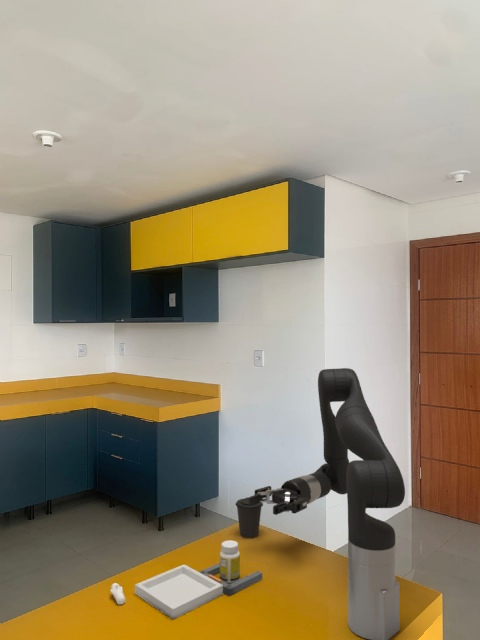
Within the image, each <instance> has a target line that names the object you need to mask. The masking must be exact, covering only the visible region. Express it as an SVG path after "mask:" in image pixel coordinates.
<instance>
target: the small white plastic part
mask: <svg viewBox="0 0 480 640" xmlns="http://www.w3.org/2000/svg"><path fill="white" fill-rule="evenodd" d="M110 593H111V594H112V596H113V597H114V600H115V602H116V604H117V605H121V606H122V605H123V604H124V603H125V602H126V596H125V594H124V591H123V587H122V586H120V584H119V583H117V582H114V583H112V584H111V585H110Z"/></svg>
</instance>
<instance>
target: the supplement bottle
mask: <svg viewBox="0 0 480 640" xmlns="http://www.w3.org/2000/svg"><path fill="white" fill-rule="evenodd" d="M219 563H220V573H219V579H220V580H222V581H223V582H225V583H227V584H232V583H234V582H236V581H238V580H240V579H241V567H240V566H241V554H240V551H239V543H238V542H237V541H235V540H230V539H229V540H223V542H222V543H221V551H220V553H219Z"/></svg>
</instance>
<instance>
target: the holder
mask: <svg viewBox="0 0 480 640" xmlns="http://www.w3.org/2000/svg"><path fill="white" fill-rule="evenodd" d="M198 572H199V573H201V574H203V575H205V576H207V577H209V578H211V579H212V580H214V581H216V582H218V583H220V584H222V585H223V595H226V596H228V597H231V596H233V595H235V594H236V593H238V592H240V591H242V590H244V589H247V588H248V587H250V586H251V585H254V584H256V583H258V582H259V581H260V582H261V580H263V572H261V571H260V570H257V571H255V572H253V573H250V574H249V575H246V576H244V577H242V578H240V579H239V580H238V581H236V582H234V583H225V582H223V581H222V580H221V579H220V578H218V577H216V575H218V574H220V562H218V563H215V564H213V565H211V566H209V567H207V568H204V569H203V570H200V571H198Z"/></svg>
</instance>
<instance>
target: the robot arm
mask: <svg viewBox="0 0 480 640" xmlns="http://www.w3.org/2000/svg"><path fill="white" fill-rule="evenodd" d="M358 377H359V376H358V375H357V372H355V370H354V369H352V368H349V367H348V368H347V367H344V368H341V367H340V368H325V369H321V370H320V371H319V373H318V377H317V391H318V401H319V410H320V411H319V412H320V419H321V425H322V432H323V434H322V435H323V460H324V461H325V462H324V463H323V464H322V465H321V466H320V467H319V468H317V469H316V470H315V471H314V472H312V473H310V474H306V475H300V476H298V477H295V478H292V479H288V480H286V481H285V482H283V484H282V485H281V487H280V488H275V489H272V485H271V486H270V485H268V486H264V487H261V488H257V489H254V495H251V496H249V505H251V506H253V505H255V504H258V503H260V502H262V503H266V504H268V505H273V507H272V514H273V515H275V516H277V515H280V514H283V513H284V512H285V513H289V512H291V514H297V513H299V512H301V511H304V510H305V509H308V505H310V504H312V503H313V502H315V501H316V500H318V499H322V498H323V497H326V496H327V495H328V494H330V492H331V491H333V492H335V493H336V494H338V495H346V497H347V528H348V529H347V534H348V535H347V553H348V555H347V610H348V611H347V616H348V617H347V624H348V628H349V629H350V630H351V632H352V633H353V634H355V635H357V636H359V637H361V638H364V639H366V640H390V639H391V638H393V636H395V635H396V634H397V633H398V632H400V631H401V630H400V628H401V627H400V626H401V625H400V624H401V621H400V617H401V616H400V615H401V613H400V607H401V606H400V602H401V601H400V600H401V599H400V593H401V592H400V591H401V589H400V585H401V584H400V582H399V581H397V580H396V531H395V528H394V527H392V525H390V524H389V523H388V522H385V521H384V520H381V519H378V518H375V517H374V516H372V515H370V514H369V513H366V512H367V510H366V509H394V508H398V507H400V506H401V505H402V504H403V502H404V500H405V497H406V488H405V482H404V478H403V475H402V472H401V470H400V467H399V466H398V463H397V461H396V460H395V458H394V457H393V456H392V454H391V452H390V451H389V449H388V447H387V446H386V444H385V442H384V440H383V438H382V435H381V433H380V431H379V429H378V426H377V423H376V421H375V418H374V416H373V414H372V412H371V410H370V408H369V406H368V405H367V402H366V399H365V396H364V393H363V390H362V386H361V384H360V380H359V378H358ZM336 402H337V403H338V402H342V404H341V405H340V407H339V409H338V410H337V412H336V414H334V412H333V410H332V406H331V403H336ZM349 451H350V452H351V453H352V454H354V455H355V456H357V457H358V458H359V459H358V460H356V459H355V460H352V461H350V460H349V457H348V456H349V455H348V454H349V453H348V452H349ZM361 459H362V460H361ZM270 497H271V499H270Z"/></svg>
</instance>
